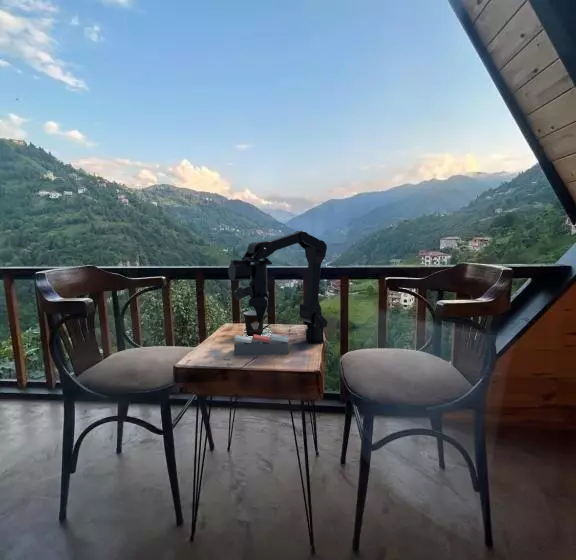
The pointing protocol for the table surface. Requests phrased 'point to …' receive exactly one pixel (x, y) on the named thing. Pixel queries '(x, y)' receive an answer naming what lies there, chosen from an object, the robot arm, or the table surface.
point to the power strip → (260, 348)
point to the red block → (261, 338)
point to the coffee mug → (254, 323)
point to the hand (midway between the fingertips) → (259, 322)
